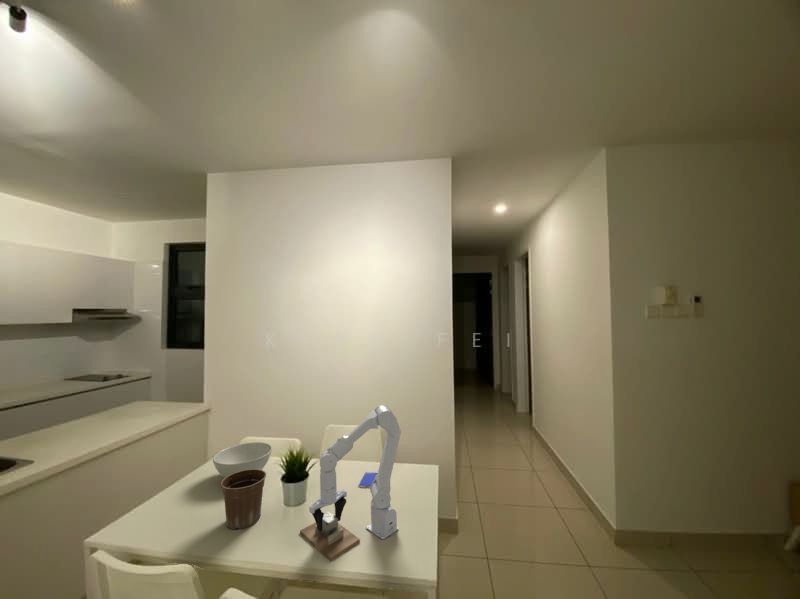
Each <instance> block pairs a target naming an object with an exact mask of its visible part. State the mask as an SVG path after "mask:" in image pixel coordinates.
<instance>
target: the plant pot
mask: <svg viewBox="0 0 800 599" xmlns="http://www.w3.org/2000/svg"><path fill="white" fill-rule="evenodd" d="M266 477H267V472H266V471H265V470H263V469H262V470H259V469H248V470H243V471H239V472H236V473H233V474H231V475H229V476H227V477H226V478H224V477H223V479H222V480H221V481H220V487H221V488H222V495H223V499H224V508H225V509H224V510H225V523H226V527H227V528H229V529H232V530H236V529H245V528H249V527H250V526H252V525H254V524H256V523H257V522H258V521H259V519H260V517H261V514H262V503H263V502H262V501H263V492H264V487H265V480H266Z"/></svg>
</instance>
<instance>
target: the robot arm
mask: <svg viewBox="0 0 800 599" xmlns="http://www.w3.org/2000/svg"><path fill="white" fill-rule="evenodd" d="M379 426H380V427H381V428H382V429H383V430H385V433H386V436H385V441H384V445H383V447H382V448H383V449H382V454H381V458H380V461H379V466H378V470H377V473H378V474H377V475H376V476H375V480H374V482H373V483H372V484H371V487H370V488H369V491H370V494H371V496H372V498H371V500H370V517H371V518H370V523H369V524H368V525H367V526H366V527H365V528H366V530H368V531H369V532H371V533H372V534H374V535H375V536H377V537H378V538H380V539H381V540H385V539H387V538H388V537H389V536H390V535H393V533H395V532H396V531H398V530H399V527H398V526H397V522H398V521H397V511H396V510H395V509H394V507H393V506H392V504H391V500H392V498H391V488H392V487H391V479H392V473H393V469H394V464H395V460H396V456H397V451H398V446H399V441H400V438H401V430H402V429H401V428H400V425H399V422H398V419H397V417H396V415H395V414H394V413H393V411H392V410H391V409H390V408H389V407H388V406H387V405H385V404H380V405H378V406H376V407H375V409H373V410H372V411H370V412H369V413H368V414H367V415H366V417H365V418H364V419H363V420H362V421H361V422H360V423H359V424H358V425H357V426H356V427H355V428H354V429H353V430H352V431H351V432H350V433H349V434H347V435H342V436H339V437H338V438H336V441H335V442H334V443H333V444H332V445H331V446H330V447H329V446H328V447H327V448H326V449H325V450H324V451H322V453H320V456H319V467H320V474H319V477H320V478H319V479H320V480H319V484H320V489H319V492H320V493H319V494H320V496H319V498H318V499H317V500H316V501H315V502H314V503H312V504H311V505H309V506H308V509H309V511H308V512H309V513H310V514H311V515H312V517H313V518H314V520H315V522H316V525H317V529H318V530H319V531H322V528H323V525H322V522H323V515H324V513H325V512H323V511H322V508H325V507H328V506H332V505H334V516H336V517H337V518H338V522H340V521H341V517H342V514H343V511H344V507H345V506H346V504H347V499H346V498H347V496H348V494H347V490H345V489H341V490H338V491H337V471H336V467H337V465H338V462H340V461H341V460H342V459H343V458H344V457H345V456H346V455H347V454H348V453H349V452H351V451H352V450H353V448H354V443H355V442H356V441H357V440H359V439H360V438H362V436H364V435H365V434H366V433H367V432H369V431H370V430H372V429H373V430H377V429H380V428H379Z"/></svg>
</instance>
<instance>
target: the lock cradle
mask: <svg viewBox="0 0 800 599" xmlns="http://www.w3.org/2000/svg"><path fill="white" fill-rule="evenodd" d="M299 534H300V535H301V536H302V537H304V538H305V539H306V540H307V541H308V543H310V544H311V545H312V546H314V548H316V550H318V551H319V552H320V553H321V554H322V555H323V556H325V558H327V559H328V560H329V561H332V560H334V559H335V558H338V557H339V556H340V555H342V554H343V553H345V552H346V551H348V550H350V549H351V548H352V547H355V546H356V545H357V544H359V543H360V541H361V538H359V537H358V536H356V535H355V534H354V533H352V532H351V531H349V529H347V528H345V527H344V526H343V525H341V524H340V523H339V522H338V531H336V532H334V533H333V534H331V535H329V536H328V540H327V539H326V538H324V537H323V536H322V535H321V534H320V533H319V530H318V529H317V525H316V521H315V522H313V523H312V524H310V525H308V526H306V527H304V528H302V529H300V530H299Z"/></svg>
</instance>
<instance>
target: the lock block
mask: <svg viewBox="0 0 800 599" xmlns="http://www.w3.org/2000/svg"><path fill="white" fill-rule="evenodd" d="M323 513H324V515H323V522H322V525H323V528H322V531H319V533H320V534H321V535H322V536H323V537H324V538H326V539H327V540H328V536H329V535H331V534H333V533H334V532H336V531H338V523H339V521H338V518H337V517H336V516H335V514H333V513H331V511H326V512H323Z"/></svg>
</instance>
